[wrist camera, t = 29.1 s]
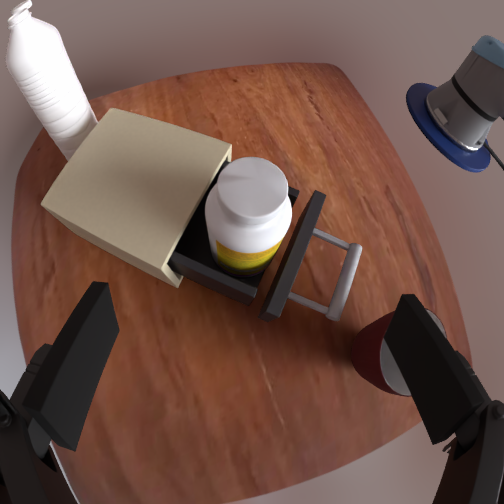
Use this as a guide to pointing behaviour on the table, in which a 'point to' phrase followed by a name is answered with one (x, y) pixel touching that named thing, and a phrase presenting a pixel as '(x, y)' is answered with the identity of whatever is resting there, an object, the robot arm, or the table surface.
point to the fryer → (136, 188)
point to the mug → (381, 356)
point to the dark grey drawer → (245, 288)
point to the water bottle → (48, 79)
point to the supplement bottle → (247, 216)
